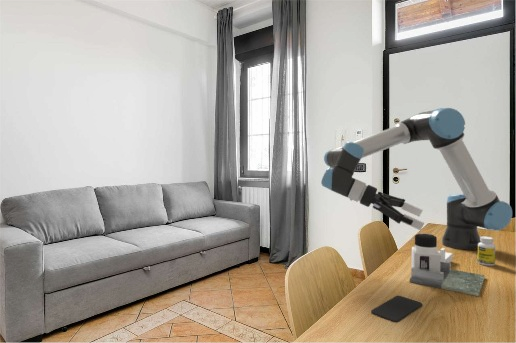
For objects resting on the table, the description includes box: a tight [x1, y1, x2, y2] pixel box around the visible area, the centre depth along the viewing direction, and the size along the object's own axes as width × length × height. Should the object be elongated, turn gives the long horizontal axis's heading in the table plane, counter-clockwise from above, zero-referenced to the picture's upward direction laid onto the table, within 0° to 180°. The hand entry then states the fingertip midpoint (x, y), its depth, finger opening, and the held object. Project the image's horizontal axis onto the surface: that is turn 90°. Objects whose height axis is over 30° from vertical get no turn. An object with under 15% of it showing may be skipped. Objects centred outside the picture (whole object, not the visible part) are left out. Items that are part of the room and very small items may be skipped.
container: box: [411, 232, 441, 272], centre depth 112 cm, size 8×8×13 cm
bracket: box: [437, 247, 453, 262], centre depth 125 cm, size 13×7×8 cm, turn 137°
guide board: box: [409, 261, 486, 297], centre depth 109 cm, size 18×18×4 cm
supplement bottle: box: [476, 236, 496, 267], centre depth 124 cm, size 5×5×10 cm
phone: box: [370, 295, 423, 323], centre depth 89 cm, size 7×1×15 cm
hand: (421, 219), depth 116 cm, fingers open, 13 cm apart
